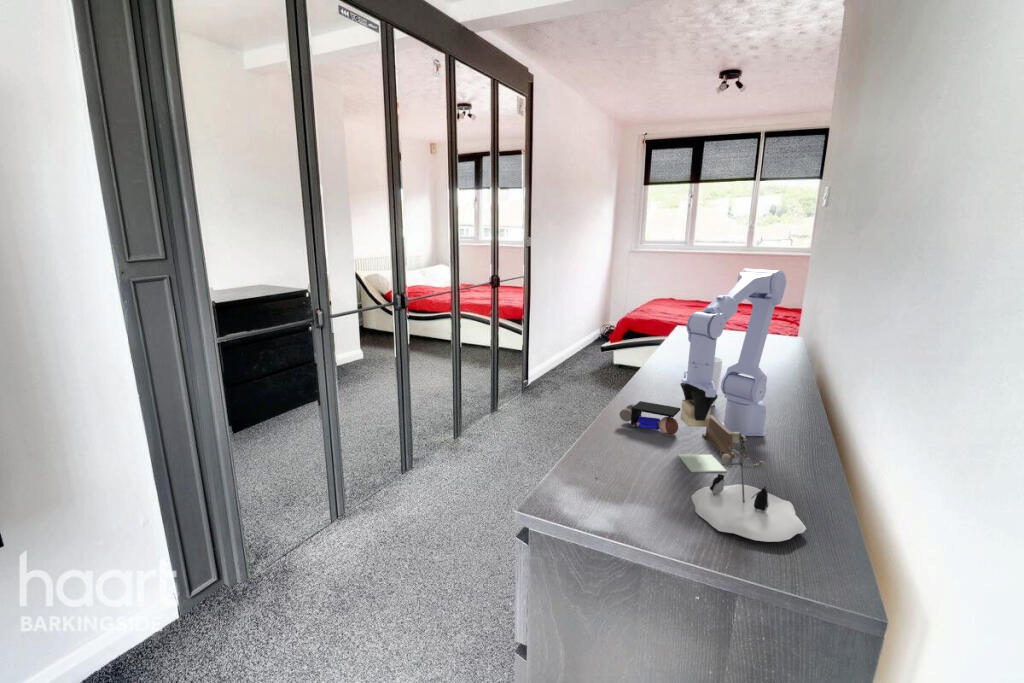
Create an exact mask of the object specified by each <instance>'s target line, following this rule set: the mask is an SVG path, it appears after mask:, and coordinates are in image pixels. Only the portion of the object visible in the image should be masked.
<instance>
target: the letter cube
mask: <svg viewBox="0 0 1024 683" xmlns="http://www.w3.org/2000/svg"><path fill="white" fill-rule="evenodd" d="M711 408H712V406H711V407H710V409H709V411H708V414H707V416H706V419H705V421H697V420H695V407H694V400H685V399H683V400H682V401H681V409H680V411H681V412H680V420H681V421H682V422H683V423H684V424H685V425H686V426H687V427H695V428H696V427H703V428H706V427H709V419H710V415H711Z"/></svg>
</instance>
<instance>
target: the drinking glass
mask: <svg viewBox="0 0 1024 683" xmlns="http://www.w3.org/2000/svg"><path fill="white" fill-rule="evenodd" d="M722 370H723V359H722V358H720V357H718V356H717V357H716V356H715V359H714V369H713V378H712V381H713V384H714V388H715V389H716V394H717V395H718V388H719V386H720V380H721V376H722V375H721V374H722ZM716 401H717V399H716V400H715V401H714V402H713V404H712V405H711V407H713V406H715V404H716Z"/></svg>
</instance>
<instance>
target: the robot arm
mask: <svg viewBox="0 0 1024 683" xmlns="http://www.w3.org/2000/svg"><path fill="white" fill-rule="evenodd" d="M786 278H787V277H786V275H785V272H784V271H783V270H782V269H781V270H780V269H777V270H775V269H773V270H771V269H756V268H750V267H746V268H743V269H742V270H741V272H739V273H738V277H737V283H736V284H735V285H733V287H732V288H731V289H730V290H729V292H727V294H719V295H717V296H716V297H715V299H714V300H713V301H711V302H710V303H708V305H707V306H706V307H705V308H704V309H702V310H701V311H695V312H693V313H692V314H690V316H689V317H688V320H687V323H686V326H685V328H686V332H687V335H688V337H687V340H688V342H689V350H688V351H689V354H688V364H687V371H683V377H682V378H681V382H680V384H679V385H680V387H681V390H682V393H683V396H684V400H694V407H695V420H697V421H705V419H706V416H707V414H708V411H709V409H710V407H711V408H712V406H711V405H712V404H713V402H714V401H715V400H716V401H717V399H718V393H717V394H716V389H715V388H714V384H713V381H712V378H713V369H714V359H715V357H716V349H717V348H716V347H717V340H718V338H719V337H721V336H722V334H723V331H724V328H725V327H726V325H727V322H728V321H729V320H730V319H732V317H734V315H736V313H738V310H739V305H740V304H741V303H743V301H745V300H746V301H748V302H750V303H751V305H752V309H751V313H750V317H749V321H748V323H747V328H746V330H745V331H746V332H745V336H744V338H743V342H742V347H741V350H740V354H739V357H738V358H739V359H738V362H737V363H735V364H732V365H729V366H728V367H727V369H726V372H725V374H724V376H723V377H722V379H721V382H720V389H721V393H723V394H724V398H725V399H726V402H725V404H726V405H725V413H724V421H723V422H721V423H722V424H723V425H724V426H725V427H726V428H728V429H729V430H730V431H731V432H739V433H741V435H743V436H745V437H765V436H766V434H765V433H764V431H765V426H766V425H765V424H766V417H767V408H766V405H765V403H764V402H763V399H764V398H765V396H766V393H767V383H768V382H767V381H768V376H767V375H766V374H765V372H764V371H763V370H762V369H761V368H760V367H759V366H760V362H761V359H762V354H763V351H764V347H765V344H766V341H767V336H768V333H769V330H770V326H771V321H772V320H773V319H772V318H773V315H774V311H775V307H776V306H777V305H780V304H781V303H782V300H783V297H784V294H785V290H786V286H787V279H786ZM741 374H742V375H741ZM744 375H746V376H744ZM748 376H750V377H748ZM716 401H715V402H716Z"/></svg>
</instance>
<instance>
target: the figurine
mask: <svg viewBox="0 0 1024 683" xmlns="http://www.w3.org/2000/svg"><path fill="white" fill-rule="evenodd" d="M732 441H733V444H734V443H735V444H739V450H737V449H735V448H734V446H732V445H730V443H729V441H728V444H729V445H730V448H728V449H729V450H731V451H732V452H733V453H734V454H735V457H736V458H738V460H739V461H738V462H732V461H734V459H735V458H733V459H732V457H731V456H730V455H729V454H723V456H721V465H722V466H723V467H725V466H727V467H728V466H740V471H741V483H740V484H738V483H736V484H732V485H724V484H725V477H726V475H724V474H722V473H721V474H720V473H719V474H717V477H714V478H713V480H712V484H711V486H704V487H702V488H700V489H697V490H696V491H694V493H693V494H692V495H691V497H690V498H691V500H692V503H693V504H694V508H695V509H694V512H695V513H696V514H697V516H699V517H701V518H702V519H703V520H704V521H706V522H707V523H708V524H709V525H710V526H711V527H713V528H714V529H715V530H716V531H719V532H722V533H729V534H735V535H738V536H740V537H743V538H746V539H748V540H749V539H750V540H753V541H760V542H768V543H769V542H770V543H771V542H776V543H777V542H778V543H779V542H784V541H787V540H791V539H792V538H793V537H795V536H796V535H798V534H803V533H805V532H806V529H807V527H806V526H805V524H804V523H803V521H802V520H801V519H800V518H799V517H798V516H797V514H796V511H795V507H794V505H793V504H792V503H791V501H788V500H784V499H782V498H779V497H778V496H776V495H774V494H771V493H770V492H768V490H767V489H766V486H764V487H762V488H761V489H759V488H758V487H756V486H751V485H748V484H745V482H744V481H745V480H744V468H746V469H748V467H752V469H753V468H755V469H756V468H758V467H760V466H765V462H764V461H763V460H759V462H758V463H752V464H744V462H743V459H744V460H751V458H750V457H749V456H748V455H749V454H750V453H749V450H748V448H747V446H746V445H745V443H744V442H746V441H747V436H743V435H741V433H739V432H732ZM744 450H745V451H747V453H746V452H744Z"/></svg>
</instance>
